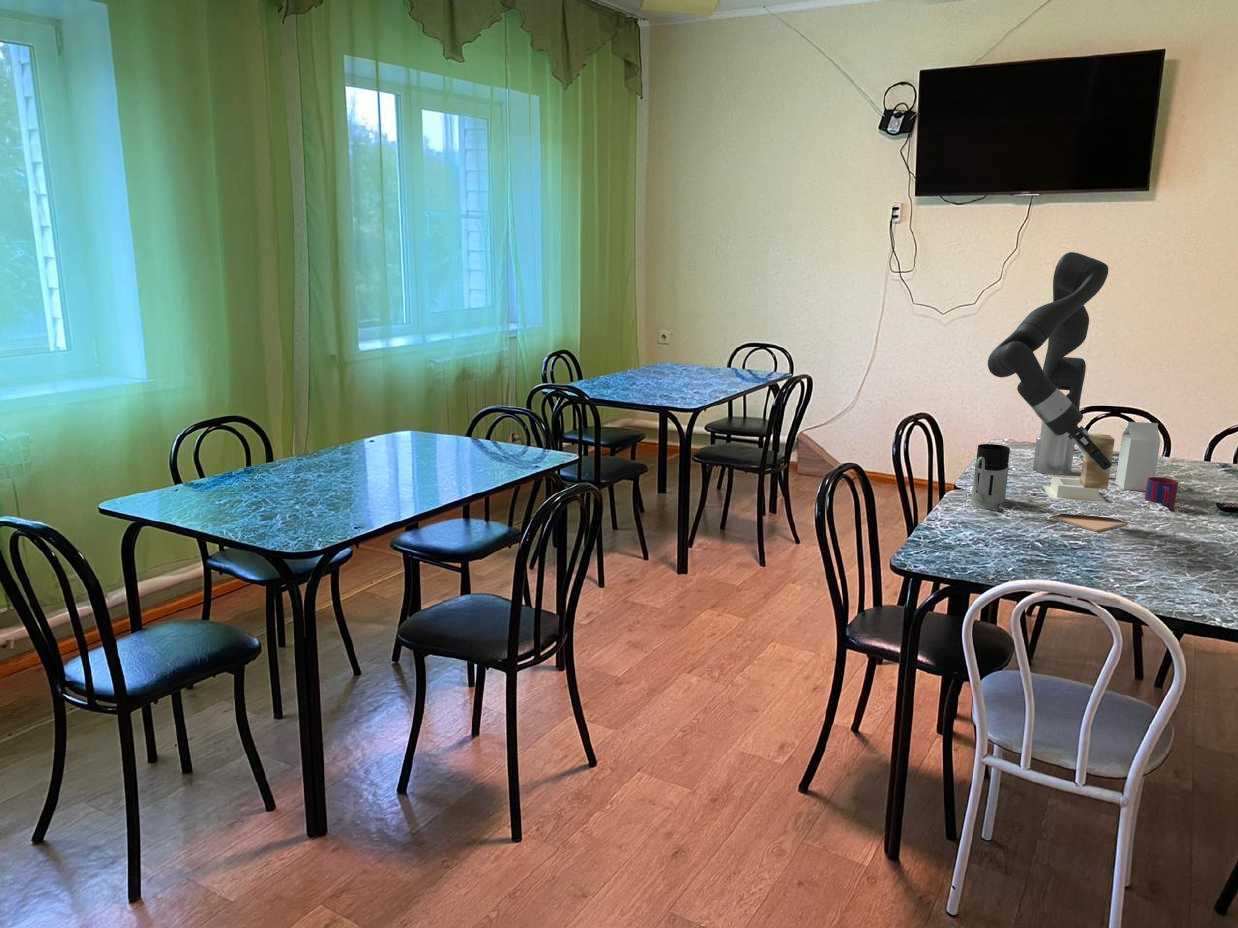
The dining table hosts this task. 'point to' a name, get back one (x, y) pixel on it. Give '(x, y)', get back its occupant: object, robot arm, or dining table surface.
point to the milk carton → (1138, 455)
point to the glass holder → (990, 476)
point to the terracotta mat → (1090, 521)
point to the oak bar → (1090, 468)
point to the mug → (1161, 491)
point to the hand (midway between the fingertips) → (1105, 464)
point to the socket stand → (1072, 490)
